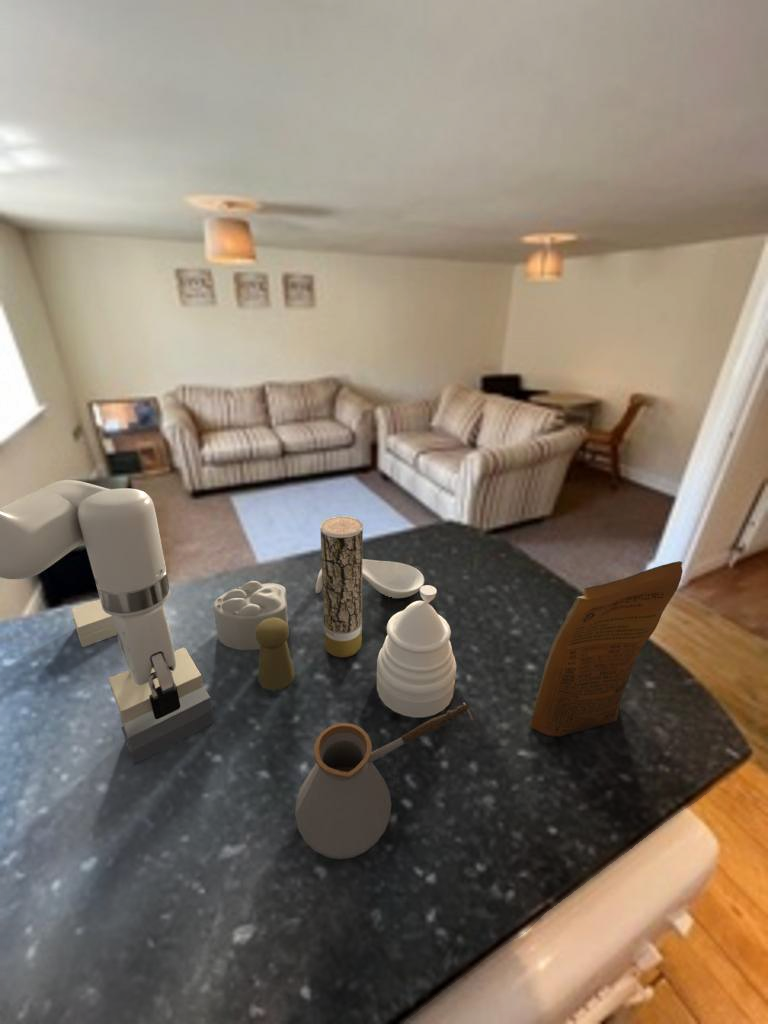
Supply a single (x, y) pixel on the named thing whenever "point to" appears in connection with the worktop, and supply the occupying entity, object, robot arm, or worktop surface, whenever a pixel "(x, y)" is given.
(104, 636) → the tan rectangular block
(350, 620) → the brown bark cylinder
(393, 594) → the spoon rest
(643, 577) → the pancake mix bag
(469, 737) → the worktop surface
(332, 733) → the coffee pot
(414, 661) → the honey pot
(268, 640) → the olive peg figurine
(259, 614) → the lumpy-topped squat cylinder
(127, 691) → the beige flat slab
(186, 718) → the grey block
